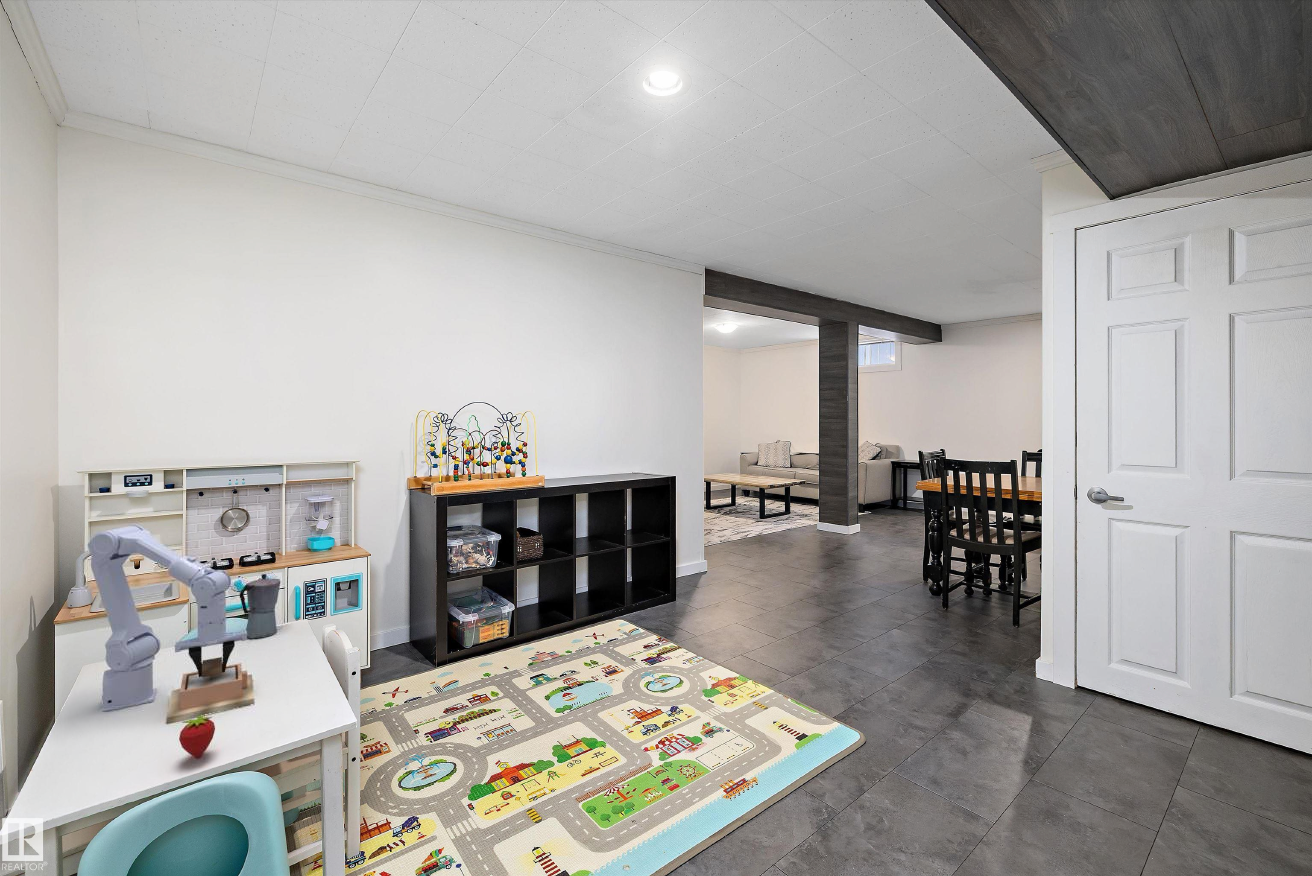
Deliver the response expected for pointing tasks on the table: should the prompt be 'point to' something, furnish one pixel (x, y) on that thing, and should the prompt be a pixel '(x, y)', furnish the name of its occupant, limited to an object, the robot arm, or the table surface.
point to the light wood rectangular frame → (177, 715)
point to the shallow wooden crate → (212, 690)
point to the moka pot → (261, 606)
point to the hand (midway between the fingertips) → (212, 673)
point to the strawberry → (197, 735)
